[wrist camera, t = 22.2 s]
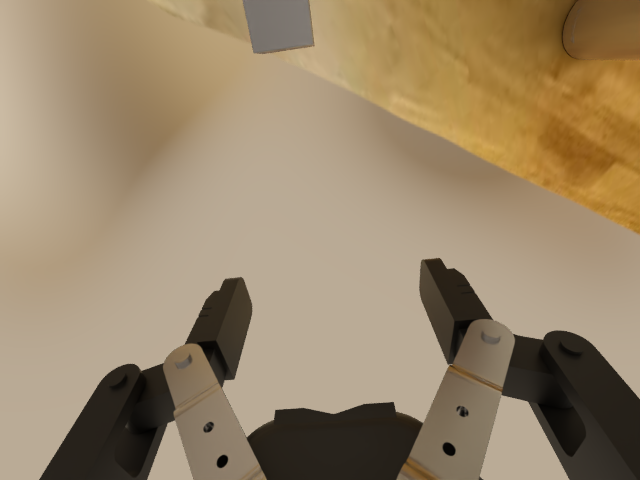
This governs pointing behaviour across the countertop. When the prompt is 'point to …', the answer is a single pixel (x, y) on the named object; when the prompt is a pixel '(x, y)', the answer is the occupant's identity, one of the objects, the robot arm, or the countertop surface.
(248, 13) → the module
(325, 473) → the robot arm
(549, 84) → the countertop surface
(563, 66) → the countertop surface
